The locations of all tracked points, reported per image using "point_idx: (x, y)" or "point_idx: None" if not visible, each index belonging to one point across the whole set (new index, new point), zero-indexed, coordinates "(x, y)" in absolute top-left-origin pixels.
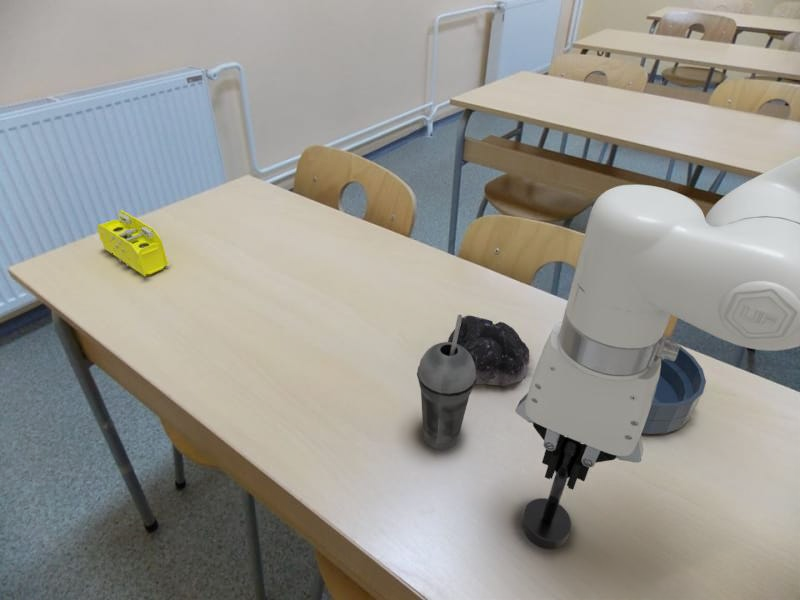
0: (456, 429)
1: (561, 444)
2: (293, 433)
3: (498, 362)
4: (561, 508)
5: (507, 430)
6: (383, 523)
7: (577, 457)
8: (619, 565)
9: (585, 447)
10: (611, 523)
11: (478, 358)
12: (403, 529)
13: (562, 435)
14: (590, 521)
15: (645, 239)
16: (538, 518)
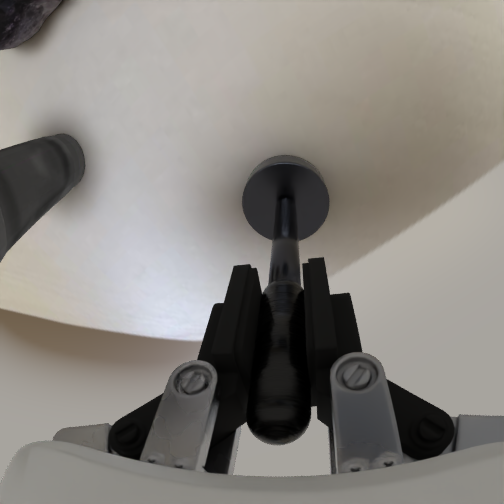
0: (57, 183)
1: (244, 382)
2: (4, 276)
3: (9, 9)
4: (298, 169)
5: (123, 58)
6: (123, 309)
7: (313, 396)
8: (408, 185)
9: (328, 412)
10: (380, 117)
11: None
12: (141, 304)
13: (230, 402)
14: (348, 134)
15: None
16: (272, 214)
